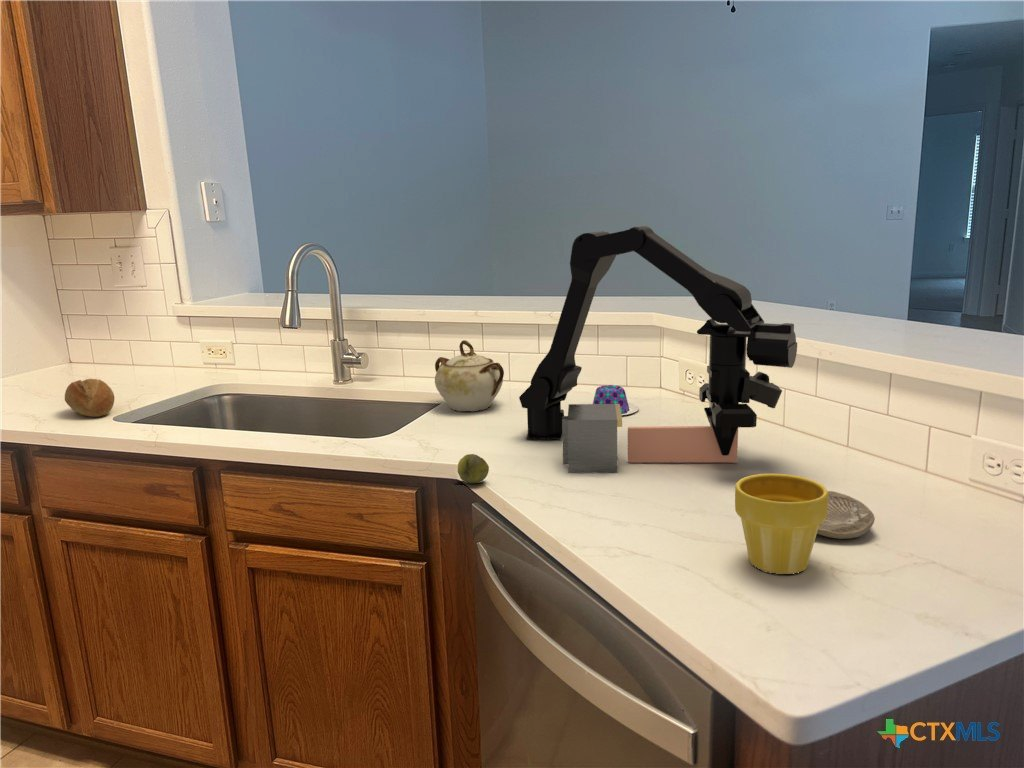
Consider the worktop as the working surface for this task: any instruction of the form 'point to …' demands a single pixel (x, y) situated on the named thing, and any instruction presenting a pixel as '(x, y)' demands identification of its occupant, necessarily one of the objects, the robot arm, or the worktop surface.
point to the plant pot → (780, 519)
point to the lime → (472, 468)
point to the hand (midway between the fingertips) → (724, 453)
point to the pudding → (614, 398)
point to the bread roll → (90, 397)
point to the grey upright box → (591, 438)
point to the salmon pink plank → (677, 445)
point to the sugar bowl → (468, 380)
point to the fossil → (845, 517)
